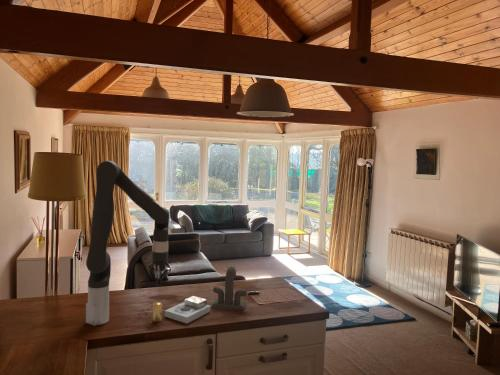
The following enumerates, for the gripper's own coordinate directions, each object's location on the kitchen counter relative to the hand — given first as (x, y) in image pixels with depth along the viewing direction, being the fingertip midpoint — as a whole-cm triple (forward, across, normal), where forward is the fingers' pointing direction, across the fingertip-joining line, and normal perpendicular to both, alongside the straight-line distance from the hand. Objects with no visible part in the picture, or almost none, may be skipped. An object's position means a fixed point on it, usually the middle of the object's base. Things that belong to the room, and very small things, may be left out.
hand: (158, 285), depth 187 cm
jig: (+16, -7, -14) cm, 22 cm away
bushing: (+16, -1, +1) cm, 17 cm away
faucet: (+16, -16, -38) cm, 44 cm away
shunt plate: (+13, -7, -19) cm, 24 cm away
